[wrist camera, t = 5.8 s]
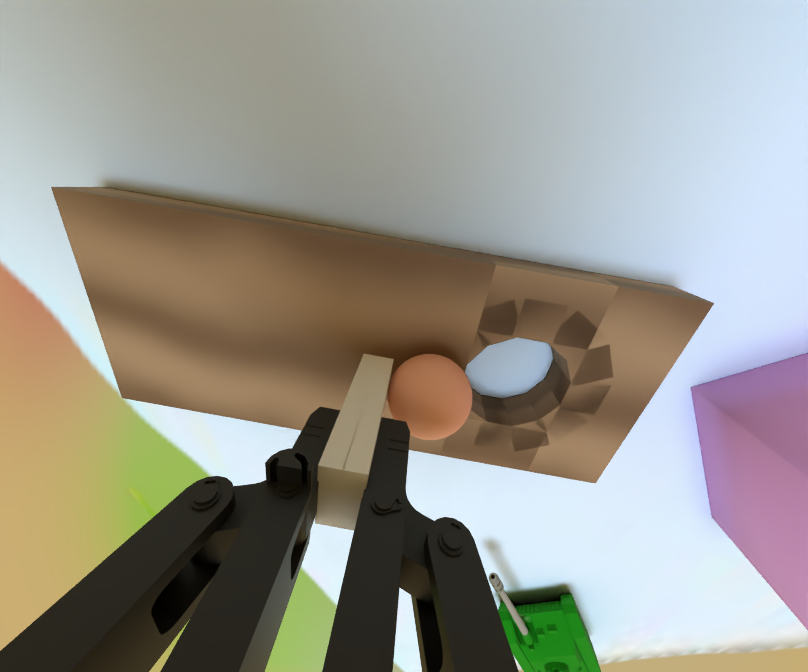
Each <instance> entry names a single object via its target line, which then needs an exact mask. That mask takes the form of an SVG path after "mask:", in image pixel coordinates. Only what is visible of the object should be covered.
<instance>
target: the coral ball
mask: <svg viewBox="0 0 808 672" xmlns="http://www.w3.org/2000/svg"><path fill="white" fill-rule="evenodd" d="M388 406H389V409H390V412H391V415H392V417H393V418H394V419H395V420H400V421H406V423H407V425H408V428H409V430H410V435H411V436H414V437H416V438H419V439H423V440H438V439H442V438H445V437H448V436H450V435H452V434H453V433H455V432H456V431H457V430H458V429H460V427H461V426H462V425H463V424H464V423H465V421H466V420H467V418H468V416H469V413H470V410H471V407H472V389H471V385H470V382H469V380H468V378H467V376H466V374H465V373H464V371H463V370H462V369H461V368H460V367H459V366H458V365H457V364H456V363H455V362H453V361H452V360H450V359H448V358H446V357H444V356H441V355H437V354H423V355H418V356H415V357H412V358H410V359H408V360H407V361H405V362H404V363H403V364H402V365H401V366H399V368H398V369H397V370H396V371H395V373H394V374H393V376H392V378H391V380H390V383H389V387H388Z"/></svg>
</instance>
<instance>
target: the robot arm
mask: <svg viewBox="0 0 808 672" xmlns="http://www.w3.org/2000/svg"><path fill="white" fill-rule="evenodd" d="M393 360H394V359H391V358H385V357H380V356H374V355H369V354H363V357H362V359H361V362H360V364H359V367H358V369H357V372H356V374H355V376H354V379H353V381H352V384H351V386H350V389H349V391H348V394H347V396H346V398H345V401H344V403H343V406H342V408H341V410H336V409H331V408H325V407H319V408H318V409H317V410H315V411H314V412H313V413H312V414H310V416H309V418H308V420H307V422H306V424H305V426H304V427H303V429H302V431H301V434H300V435H299V437H298V439H297V440H296V442H295V444H294V446H293V448H292V449H286V450H282V451H279V452H277V453H276V454H274V455H272V456H271V457H270V458H269V459H268V460H267V462H266V463H265V466H266V480H265V481H263V482H261V483H256V484H250V485H241V486H233V484H232V482H231V481H229V480H228V479H227V478H225V477H220V476H213V477H206V478H204V479H201V480H199V481H196V482H195V483H193V484H192V485H191V486H189V487H188V488H186V489H185V490H184V491H183V492H182V493H181V494H179V495H178V496H177V497H176V498H175V499H174V500H173V501H171V502H170V503H169V504H168V505H167V506H166V507H165V508H163V509H162V510H161V511H160V512H159V513H158V514H157V515H155V516H154V517H153V518H152V519H151V520H150V521H149V522H147V523H146V524H145V525H144V526H143V527H142V528H141V529H140V530H138V531H137V532H136V533H135V534H134V535H133V536H131V537H130V538H129V539H128V540H127V541H126V542H125V543H123V544H122V545H121V546H120V547H119V548H118V549H117V550H115V551H114V552H113V553H112V554H111V555H110V556H109V557H107V558H106V559H105V560H104V561H103V562H102V563H101V564H99V565H98V566H97V567H96V568H95V569H94V570H93V571H91V572H90V573H89V574H88V575H87V576H86V577H84V579H82V580H81V581H80V582H79V583H78V584H76V586H74V587H73V588H72V589H71V590H70V591H68V592H67V593H66V594H65V595H64V596H63V597H62V598H60V599H59V600H58V601H57V602H56V603H55V604H54V605H52V606H51V607H50V608H49V609H48V610H47V611H46V612H45V613H43V614H42V615H41V616H40V617H39V618H38V619H36V620H35V621H34V622H33V623H32V624H31V625H30V626H29V627H27V628H26V629H25V630H24V631H23V632H22V633H20V634H19V635H18V636H17V637H16V638H15V639H14V640H13V641H11V642H10V643H9V644H8V645H7V646H6V647H4V648H3V649H2V650H1V651H0V672H149V671H150V670H151V668H152V667H153V666H154V664H155V663H156V662H157V661H158V659H159V658H160V657H161V655H162V654H163V653H164V652H165V650H166V649H167V648H168V646H169V645H170V644H171V643H172V641H173V640H174V639H175V637H176V636H177V635H178V633H179V632H180V631H181V630H182V628H183V627H184V626H185V625H186V623H187V622H188V621H189V622H188V624H187V625H186V627H185V629H184V631H183V632H182V634H181V636H180V638H179V640H178V641H177V643H176V645H175V647H174V648H173V650H172V652H171V654H170V656H169V657H168V659H167V661H166V663H165V665H164V666H163V668H162V670H161V672H265V669H266V666H267V663H268V660H269V657H270V654H271V651H272V648H273V645H274V642H275V640H276V637H277V634H278V631H279V628H280V625H281V622H282V619H283V616H284V614H285V610H286V608H287V605H288V602H289V599H290V596H291V593H292V590H293V587H294V584H295V582H296V579H297V576H298V573H299V570H300V567H301V564H302V561H303V558H304V556H305V553H306V550H307V547H308V544H309V539H310V530H311V527H312V524H313V521H314V519H315V523H317V524H322V525H328V526H333V527H338V528H344V529H349V530H354V534H353V539H352V543H351V547H350V552H349V556H348V561H347V565H346V570H345V574H344V578H343V583H342V587H341V592H340V596H339V600H338V605H337V609H336V614H335V618H334V623H333V627H332V632H331V636H330V641H329V645H328V649H327V653H326V658H325V662H324V667H323V671H322V672H392V670H393V659H394V646H395V634H396V622H397V609H398V597H399V587H400V588H401V589H403V590H404V591H406V592H408V593H409V594H411V597H412V604H413V611H414V617H415V624H416V631H417V638H418V645H419V652H420V659H421V666H422V672H519V671H518V669H517V666H516V663H515V660H514V657H513V654H512V651H511V648H510V645H509V642H508V639H507V636H506V633H505V630H504V627H503V624H502V621H501V618H500V615H499V612H498V609H497V606H496V603H495V600H494V597H493V595H492V592H491V589H490V586H489V583H488V580H487V577H486V574H485V571H484V568H483V565H482V562H481V559H480V556H479V553H478V550H477V547H476V544H475V541H474V539H473V537H472V535H471V533H470V531H469V530H468V529H467V528H466V527H465V525H464V524H463V523H461V522H459V521H458V520H456V519H454V518H448V517H443V518H440V519H437V520H436V521H433V520H431V519H430V518H428V517H426V516H424V515H422V514H421V513H419V512H418V511H416V510H415V509H414V508H413V506H412V505H411V504H410V502H409V501H408V499H407V495H406V476H407V464H408V452H409V441H410V430H409V428H408V425H407V423H406V421H400V420H395V419H389V418H384V417H383V416H384V411H385V406H386V401H387V395H388V387H389V383H390V378H391V372H392V366H393ZM189 619H190V620H189Z"/></svg>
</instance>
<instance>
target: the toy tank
mask: <svg viewBox="0 0 808 672" xmlns="http://www.w3.org/2000/svg"><path fill="white" fill-rule="evenodd" d="M489 581H490V583H491V584H492V586H493V588H494V589H495V591H496V592H498V593H499V594H500V596H501V598H502V599H503V601H501V603H500V606H499V610H498V612H499V615H500V618H501V621H502V624H503V627H504V630H505V633H506V636H507V639H508V642H509V645H510V648H511V651H512V653H513V655H514V657H515V658H516V660H517V661H518V663H519V664H520V666H521V667H522V669H523V670H524V672H601V670H600V667H599V664H598V660H597V657H596V654H595V651H594V649H593V646H592V643H591V640H590V638H589V635H588V632H587V629H586V627H585V625H584V622H583V620H582V617H581V615H580V613H579V610H578V608H577V606H576V603H575V601H574V598H573V596H572V594H571V593H566V594H561V595H560V599H561V601H553V602H544V603H536V604H527V605H519V606H514V604H513V602H512V601H510V599H509V598H508V596H507V594H506V593H505V591H504V589H503V588H504V586H503V584H502V582H501V580H500V579H499V577H498V575H497V574H496V573H491V574H490V576H489Z"/></svg>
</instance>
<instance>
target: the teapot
mask: <svg viewBox="0 0 808 672" xmlns="http://www.w3.org/2000/svg"><path fill="white" fill-rule="evenodd" d="M691 392H692V398H693V404H694V411H695V417H696V423H697V429H698V435H699V441H700V448H701V454H702V460H703V466H704V472H705V478H706V485H707V491H708V497H709V503H710V509H711V515H712V518H713V519H714V520H715V521H716V522H717V524H718V525H719V526H720V527H721V528H722V529H723V531H724V532H725V533H726V534H727V535H728V537H729V538H730V539H731V540H732V541H733V542H734V544H735V545H736V546H737V547H738V548H739V550H740V551H741V552H742V553H743V554H744V555H745V557H746V558H747V559H748V560H749V561H750V563H751V564H752V565H753V566H754V567H755V568H756V570H757V571H758V572H759V573H760V574H761V575H762V577H763V578H764V579H765V580H766V581H767V583H768V584H769V585H770V586H771V587H772V588H773V590H774V591H775V592H776V593H777V594H778V596H779V597H780V598H781V599H782V600H783V601H784V603H785V604H786V605H787V606H788V607H789V609H790V610H791V611H792V612H793V613H794V614H795V616H796V617H797V618H798V619H799V620H800V622H801V623H802V624H803V625H804V626H805V627H806V629H807V630H808V353H806V354H802V355H799V356H795V357H792V358H789V359H785V360H782V361H778V362H775V363H771V364H768V365H765V366H761V367H758V368H754V369H751V370H748V371H744V372H741V373H737V374H734V375H731V376H727V377H724V378H720V379H717V380H714V381H710V382H707V383H703V384H700V385H697V386H693V387H691Z"/></svg>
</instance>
